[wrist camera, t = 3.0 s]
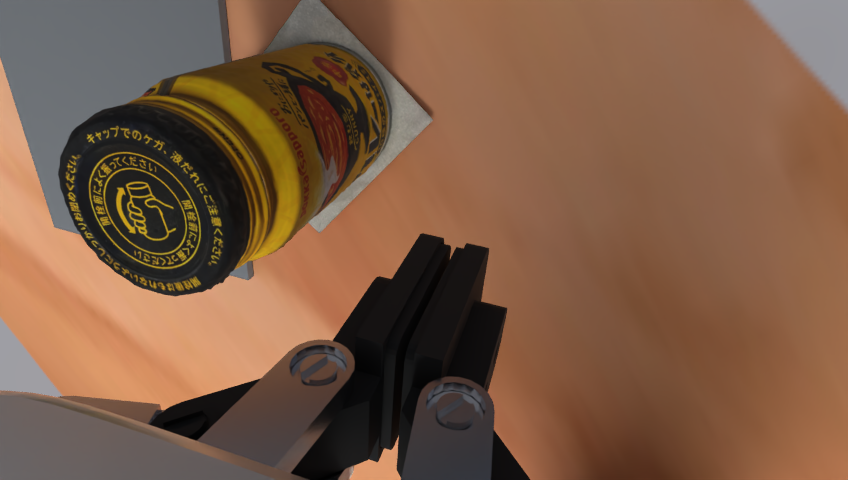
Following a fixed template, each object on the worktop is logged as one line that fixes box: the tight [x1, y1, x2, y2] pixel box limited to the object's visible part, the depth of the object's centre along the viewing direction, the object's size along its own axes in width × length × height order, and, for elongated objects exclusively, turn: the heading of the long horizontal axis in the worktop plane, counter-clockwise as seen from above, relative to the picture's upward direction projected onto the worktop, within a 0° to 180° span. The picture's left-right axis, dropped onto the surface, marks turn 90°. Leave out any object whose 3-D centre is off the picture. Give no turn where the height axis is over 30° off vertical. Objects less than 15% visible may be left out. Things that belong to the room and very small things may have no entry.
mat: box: [0, 0, 254, 280], centre depth 27 cm, size 20×14×1 cm
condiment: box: [58, 0, 433, 296], centre depth 19 cm, size 7×8×12 cm
